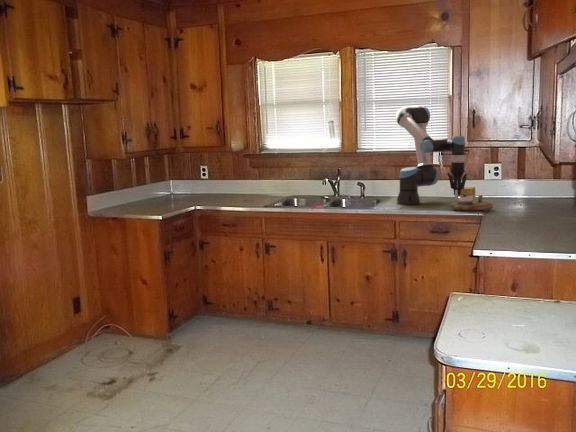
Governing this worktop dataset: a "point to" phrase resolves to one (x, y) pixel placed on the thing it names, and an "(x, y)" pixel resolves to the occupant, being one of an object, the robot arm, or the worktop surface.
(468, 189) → the cheese
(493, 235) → the worktop surface
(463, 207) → the turntable
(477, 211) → the turntable base
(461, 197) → the cover
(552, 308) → the worktop surface
